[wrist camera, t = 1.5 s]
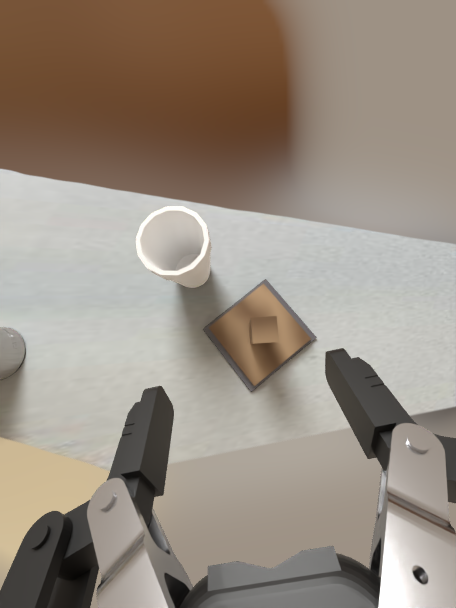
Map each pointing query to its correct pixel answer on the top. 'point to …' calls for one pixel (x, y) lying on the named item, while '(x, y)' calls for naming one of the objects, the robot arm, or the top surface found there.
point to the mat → (230, 359)
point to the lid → (259, 334)
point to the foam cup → (175, 246)
